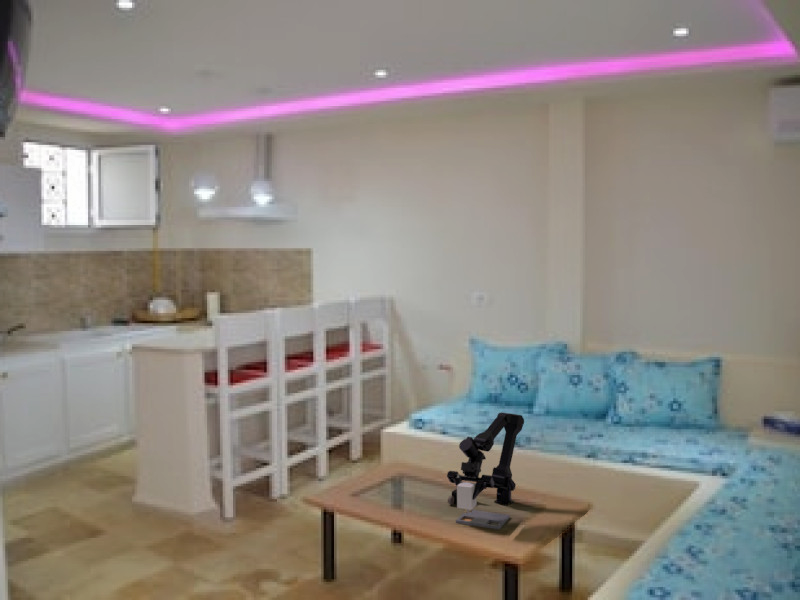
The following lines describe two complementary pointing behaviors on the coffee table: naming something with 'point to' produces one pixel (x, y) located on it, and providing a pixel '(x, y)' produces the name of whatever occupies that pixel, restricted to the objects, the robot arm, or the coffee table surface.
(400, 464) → the coffee table surface
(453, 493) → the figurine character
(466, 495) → the pale grey block
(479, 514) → the socket plate
